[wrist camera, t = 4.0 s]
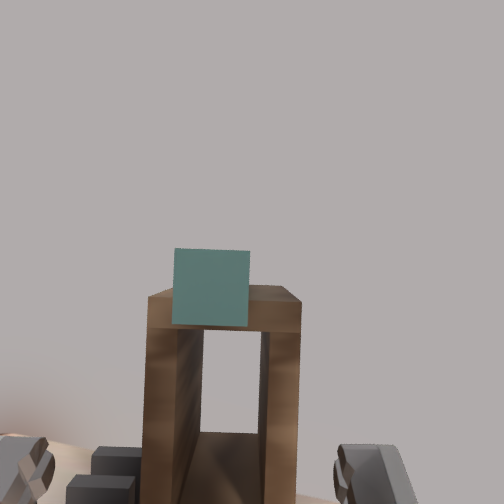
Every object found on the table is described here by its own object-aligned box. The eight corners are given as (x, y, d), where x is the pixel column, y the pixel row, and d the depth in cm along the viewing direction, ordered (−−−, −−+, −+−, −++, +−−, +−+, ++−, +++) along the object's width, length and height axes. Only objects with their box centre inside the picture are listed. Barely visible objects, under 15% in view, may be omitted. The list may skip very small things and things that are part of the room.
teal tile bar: (248, 286, 35) (249, 255, 35) (247, 326, 14) (249, 250, 14) (218, 285, 35) (219, 254, 35) (171, 323, 14) (174, 248, 14)
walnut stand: (273, 538, 36) (281, 285, 37) (288, 711, 22) (301, 302, 23) (176, 535, 36) (186, 282, 37) (131, 707, 22) (148, 296, 23)
